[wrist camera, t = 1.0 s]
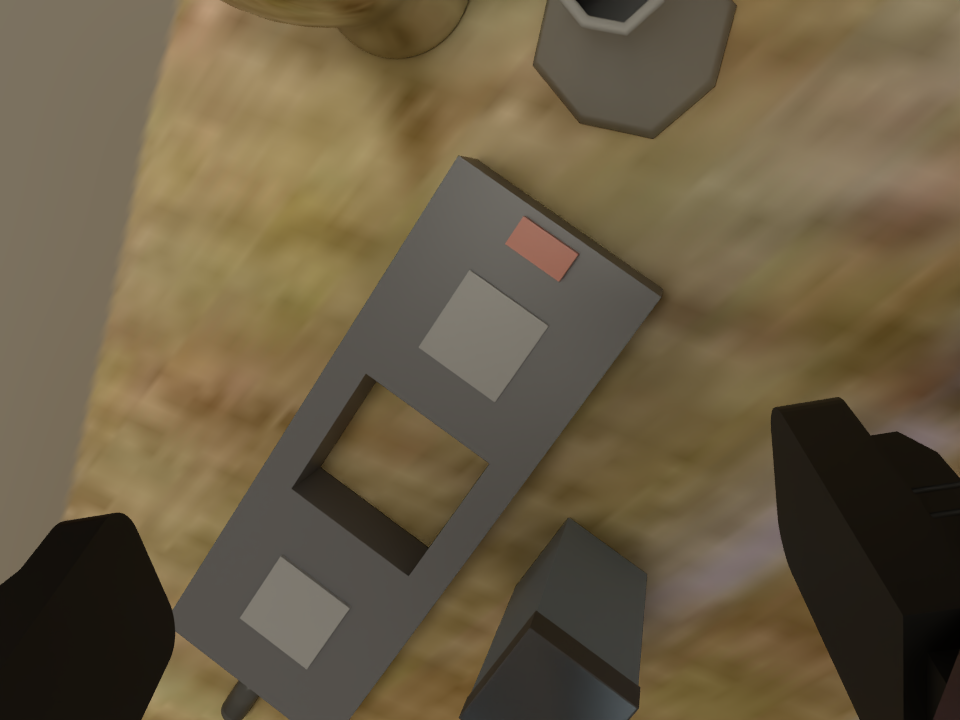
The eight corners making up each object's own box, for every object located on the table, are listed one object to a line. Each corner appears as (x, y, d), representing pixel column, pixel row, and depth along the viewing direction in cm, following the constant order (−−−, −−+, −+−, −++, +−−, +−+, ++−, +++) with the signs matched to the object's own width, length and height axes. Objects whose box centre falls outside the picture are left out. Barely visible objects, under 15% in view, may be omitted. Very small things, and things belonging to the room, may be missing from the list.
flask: (660, 172, 34) (653, 161, 24) (502, 75, 34) (433, 26, 25) (772, -4, 32) (813, -93, 22) (602, -103, 32) (570, -231, 23)
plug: (568, 515, 37) (529, 627, 27) (648, 574, 36) (638, 708, 27) (513, 586, 38) (458, 718, 28) (591, 643, 38) (562, 796, 28)
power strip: (476, 159, 35) (455, 154, 32) (662, 288, 34) (661, 298, 31) (161, 654, 42) (117, 693, 39) (308, 768, 42) (276, 818, 38)
